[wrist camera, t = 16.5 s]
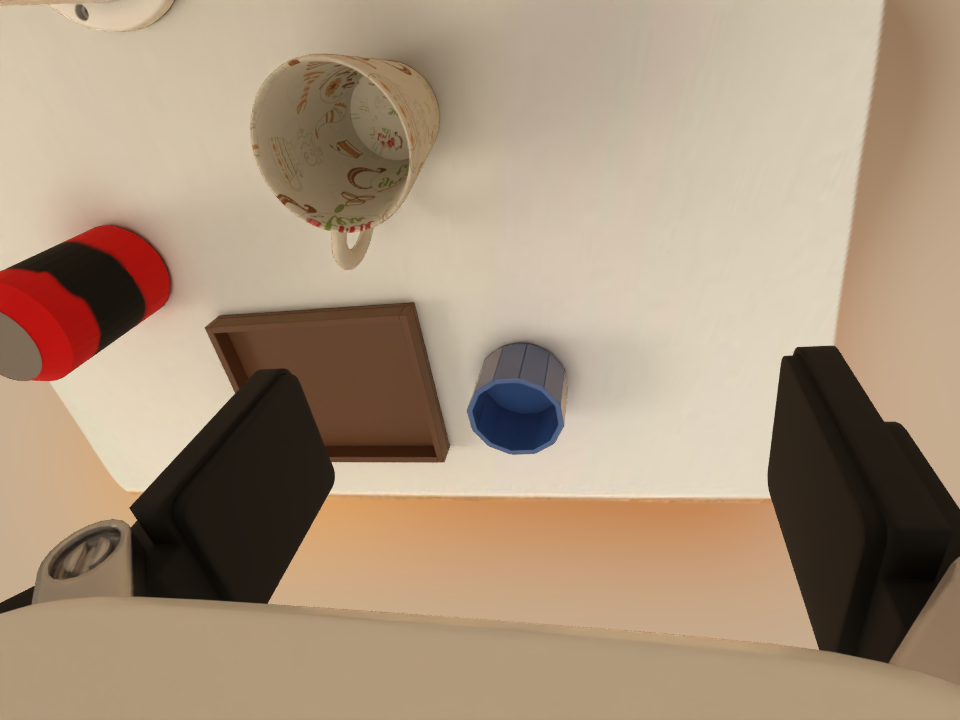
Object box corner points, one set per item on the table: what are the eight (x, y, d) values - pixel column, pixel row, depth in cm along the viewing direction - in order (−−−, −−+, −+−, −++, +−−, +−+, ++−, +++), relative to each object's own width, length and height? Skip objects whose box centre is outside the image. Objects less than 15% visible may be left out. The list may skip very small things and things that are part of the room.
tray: (277, 447, 55) (266, 462, 53) (218, 315, 47) (204, 327, 46) (450, 447, 50) (444, 462, 49) (414, 302, 43) (406, 314, 42)
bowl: (463, 370, 46) (449, 408, 42) (529, 326, 42) (520, 362, 38) (518, 426, 48) (510, 467, 44) (585, 387, 44) (582, 428, 40)
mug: (466, 53, 34) (420, 74, 25) (442, 251, 41) (399, 318, 32) (331, 26, 34) (242, 38, 26) (330, 226, 41) (260, 285, 33)
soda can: (67, 248, 47) (-79, 318, 37) (122, 207, 44) (-21, 271, 34) (135, 323, 50) (17, 406, 40) (191, 289, 47) (78, 370, 37)
